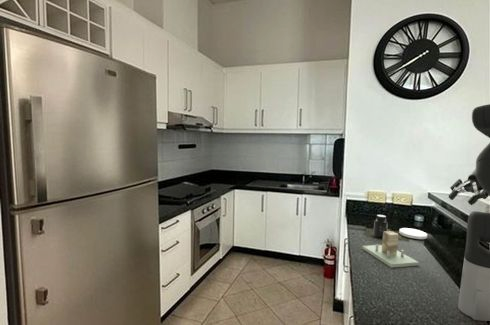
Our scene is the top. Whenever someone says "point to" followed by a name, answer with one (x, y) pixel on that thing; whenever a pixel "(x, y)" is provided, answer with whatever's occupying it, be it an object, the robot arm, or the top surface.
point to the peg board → (391, 257)
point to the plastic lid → (413, 233)
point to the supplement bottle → (380, 226)
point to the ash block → (390, 242)
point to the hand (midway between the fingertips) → (459, 200)
